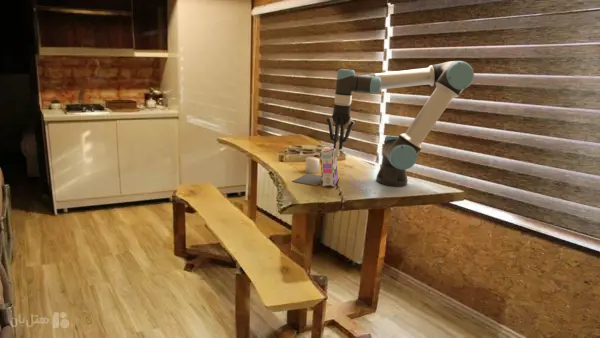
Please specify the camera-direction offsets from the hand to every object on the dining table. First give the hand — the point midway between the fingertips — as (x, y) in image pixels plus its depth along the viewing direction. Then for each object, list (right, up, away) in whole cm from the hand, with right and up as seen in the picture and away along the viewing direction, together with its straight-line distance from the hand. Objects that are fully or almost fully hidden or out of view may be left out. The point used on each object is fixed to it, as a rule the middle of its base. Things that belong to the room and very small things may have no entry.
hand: (337, 156), depth 212 cm
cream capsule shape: (-11, -7, +25) cm, 28 cm away
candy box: (-3, -13, +4) cm, 14 cm away
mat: (-12, -11, +9) cm, 18 cm away
